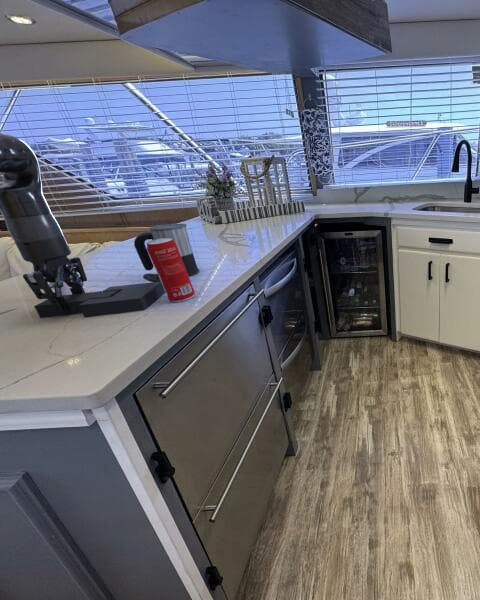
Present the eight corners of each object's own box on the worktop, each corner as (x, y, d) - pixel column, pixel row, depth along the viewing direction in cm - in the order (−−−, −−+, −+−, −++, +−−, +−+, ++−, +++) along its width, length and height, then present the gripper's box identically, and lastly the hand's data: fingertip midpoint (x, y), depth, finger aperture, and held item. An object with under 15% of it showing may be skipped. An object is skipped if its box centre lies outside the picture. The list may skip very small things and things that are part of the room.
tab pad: (40, 318, 73) (33, 306, 71) (59, 307, 78) (53, 296, 77) (111, 309, 76) (106, 297, 74) (124, 300, 81) (120, 288, 80)
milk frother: (197, 267, 105) (183, 221, 99) (207, 278, 94) (192, 228, 88) (144, 277, 97) (125, 228, 91) (148, 291, 86) (127, 236, 80)
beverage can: (200, 293, 83) (182, 235, 77) (185, 303, 77) (165, 242, 71) (177, 294, 83) (157, 236, 77) (160, 304, 77) (138, 243, 71)
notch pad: (84, 317, 72) (78, 305, 71) (114, 297, 83) (109, 286, 82) (144, 310, 74) (140, 298, 73) (166, 291, 85) (162, 281, 84)
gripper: (43, 231, 75) (75, 297, 82) (-13, 245, 62) (30, 322, 69) (80, 229, 77) (109, 293, 83) (33, 242, 64) (71, 317, 70)
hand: (73, 306), depth 76 cm, fingers closed on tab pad, 6 cm apart
